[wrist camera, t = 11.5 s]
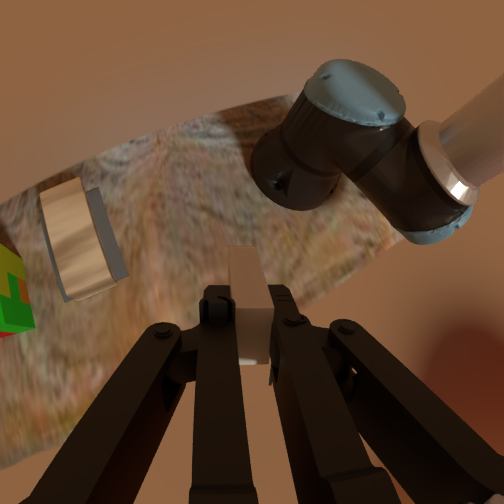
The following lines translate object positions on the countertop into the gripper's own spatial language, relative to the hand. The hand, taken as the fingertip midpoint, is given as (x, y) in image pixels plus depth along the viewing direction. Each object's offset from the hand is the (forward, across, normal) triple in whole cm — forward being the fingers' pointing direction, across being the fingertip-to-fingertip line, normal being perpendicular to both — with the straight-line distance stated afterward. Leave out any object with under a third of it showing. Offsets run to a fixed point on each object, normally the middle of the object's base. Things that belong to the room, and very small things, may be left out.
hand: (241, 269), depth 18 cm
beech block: (+17, -17, -10) cm, 26 cm away
